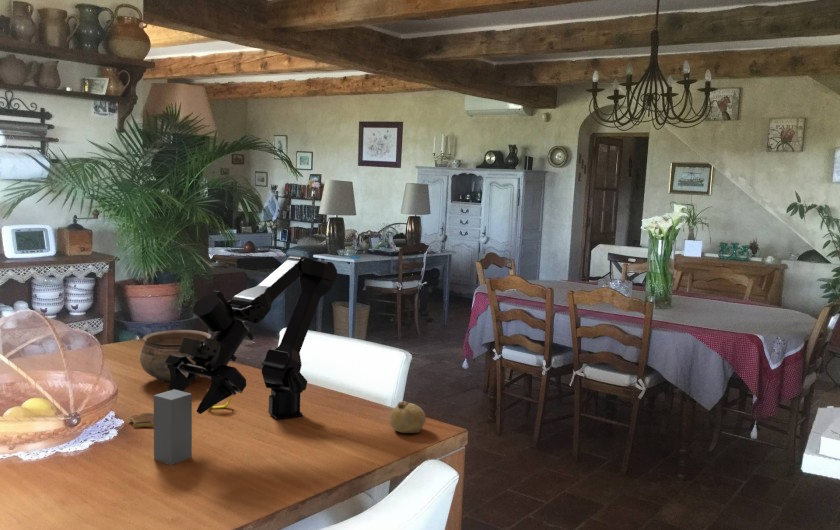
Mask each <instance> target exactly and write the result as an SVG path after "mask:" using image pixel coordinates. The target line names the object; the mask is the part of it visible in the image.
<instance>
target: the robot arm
mask: <svg viewBox="0 0 840 530" xmlns="http://www.w3.org/2000/svg"><path fill="white" fill-rule="evenodd" d="M337 276H338V270H337V268H336V265H335V264H334V263H333V262H331V261H325V260H316V259H311V258H309V257H306V256H302V255H289V256H288V257H287V258H286V260H285V261H284V262H283V263H282V264H281V265H280V266H279V267H277V268H276V269H275V270H274V271H273V272H271V273H270V274H269V275H268V276H267V277H265V279H263V280H262V281H261V282H260V283H259V284H258V285H255V286H254V287H251V288H247V289H244V290H242V291H241V292H238V293H237V294H236V295H234V296H233V297H232V298H231V299H230V300H227V299H226V298H225V296H224V294H223V292H221V291H220V290H212V291H211V292H210V294H207V295H205V296H202V297H201V298H200V299H199V300H197V301H196V302H195V303H194V305H193V308H192V311H193V314H194V315H195V316H196V317H197V318H198V319H199V320H200V322H202V324H203V325H204V326H205V328H207V330H209V331H210V332H212V333H213V332H214V334H213V336H211V337H212V338H206V339H205V340H204V341H200V340H196V339H191V338H187V337H184V338H183V340H182V343H181V346H180V349H179V352H180V353H186V354H189V355H192V356H191V357H190V358H191V359H192V360H193V361H195V362H196V364H195V365H194V364H193V363H192V362H191V361H190V360H189V359H188V358H187V357H186V356H182V355H177V354H172V355H169V357H168V358H167V360H166V361H165V364H166V365H167V369H168V370H169V371H170V375H171V378H170V383H169V384H168V389H167V391H170V390H174V389H175V390H179V391H183V392H185V390H186V389H187V388H188V387H189V386H190V385H191V384H192V380H194V379H195V378H194V377H195V376H196V375H199V376H200V377H204V378H208V379H210V386H209V387H208V389H207V390H206V392H207V393H205V394H204V397H203V398H202V399H201V401H200V403H199V404H198V407H197V409H196V412H197V413H198V415H202V414H203V413H205V412H207V411H208V410H209V409H212V408H211V407H212V406H216V405H217V404H218V403H220V402H222V401H224V400H226V399H228V398H229V396H231V397H232V396H235V395H236V394H237V393H240V394H243V392H244V390H245V388H246V386H247V379H246V378H245V376H244V375H243V374H242V373H241V372H240V371H239V369H237V368H236V366H235V367H234V366H230V365H228V364H229V363H230V362H234V363H235V361H236V359H237V357H236V355H235V354H236V352H237V351H238V349H239V348H240V346H241V344H242V342H244V340H249V341H253V340H254V334H253V331H252V330H253V329H252V327H250V326H246V325H245V324H244V322H246V323H250V324H251V323H252V324H259V323H261V322H262V321H263V320H264V319H265V318H266V317H267V315H268V314H269V312H270V311H271V308H272V304H273V303H274V301H275V300H276V299H277V298H278V297H279V296H281V294H283V292H285V291H286V290H287V289H288V288H289V287H290V286H292V284H294V283H295V282H296V281H297V280H299V285H300V289H301V290H300V293H299V295H298V298H297V301H296V303H295V305H294V306H295V307H294V309H293V311H292V314H291V316H290V318H289V321H288V324H287V326H286V329H285V331H284V334H283V336H282V339H281V340H280V344H279V345H278V346H277V347H276V348H275V349H272V348H269V349H268V350H267V351H266V355H265V358H264V360H263V362H262V363H261V366H262V367H261V375H262V378H263V381H264V385H265V388H266V389H270V394H269V395H268V413H269V414H270V415H271V416H272V417H274V418H275V419H276V420H283V419H289V418H298V417H302V416H303V412H301V394H302V393H303V392H304V391H306V389H307V386H308V380H307V379H306V378H305V376H304V375H303V374H302V373H301V369H302V359H301V350H302V347H303V345H304V342H305V339H306V337H307V334H308V331H309V329H310V327H311V325H312V321H313V318H314V316H315V313H316V310H317V308H318V305H319V302H320V300H321V298H322V297H323V296H325V295H326V294H327V293H328V292H329V291H330V290H331V289H332V287H333V285H334V283H335V281H336V279H337ZM199 376H198V377H199ZM193 378H194V379H193ZM191 379H192V380H191ZM190 380H191V381H190Z"/></svg>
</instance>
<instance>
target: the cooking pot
mask: <svg viewBox="0 0 840 530" xmlns="http://www.w3.org/2000/svg"><path fill="white" fill-rule="evenodd" d="M184 337H187V338H191V339H196V340H200V341H204V340H205V339H206V338H210V339H212V338H211V337H212V335H211V334H210V333H209V332H208V333H207V332H205V331H199V330H194V329H192V330H191V329H175V330H164V331H163V330H162V331H156V332H155V331H154V332H151V333H148V334H145V335H143V337H142V340H143V342H144V343H143V346H142V347H141V350H140V355H139V362H140V364H141V368H142V369H143V371H145V372H146V373H147V374H148V375H149V376H150V377H153V378H155V379H157V380H159V381H161V382H163V383H165V384H168V385H169V383H170V378H171V375H170V371H169V370H168V369H167V365H166V364H165V361H166V360H167V358H168V357H169V355H172V354H177V355H182V356H186V357H187V358H188V359H189V360H190V361H191V362H192V363H193V364H194V365H195V364H196V362H195V361H193V360H192V359H191V358H190V357H191V356H192V355H189V354H186V353H180V352H179V349H180V346H181V343H182V340H183V338H184ZM198 377H199V375H196V376H195V377H194V378H193V379H191V380H190V381H191V382H192V381H193V380H194V379H196V378H198Z"/></svg>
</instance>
